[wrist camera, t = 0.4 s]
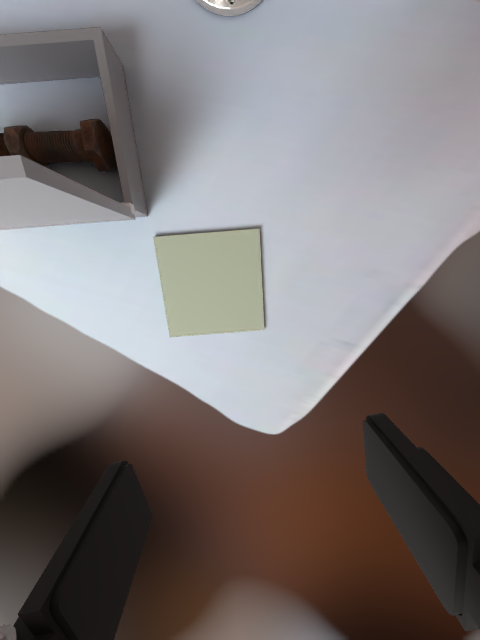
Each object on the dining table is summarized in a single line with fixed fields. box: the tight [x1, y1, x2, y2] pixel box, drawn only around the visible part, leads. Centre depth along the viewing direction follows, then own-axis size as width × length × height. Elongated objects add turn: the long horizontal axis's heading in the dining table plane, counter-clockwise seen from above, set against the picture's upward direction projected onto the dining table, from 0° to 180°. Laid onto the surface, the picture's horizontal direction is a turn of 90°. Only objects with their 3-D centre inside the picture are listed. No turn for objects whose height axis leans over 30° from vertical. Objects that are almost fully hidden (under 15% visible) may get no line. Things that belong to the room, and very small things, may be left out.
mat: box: [153, 229, 264, 337], centre depth 37 cm, size 16×16×1 cm
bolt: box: [0, 119, 117, 171], centre depth 30 cm, size 6×5×15 cm
